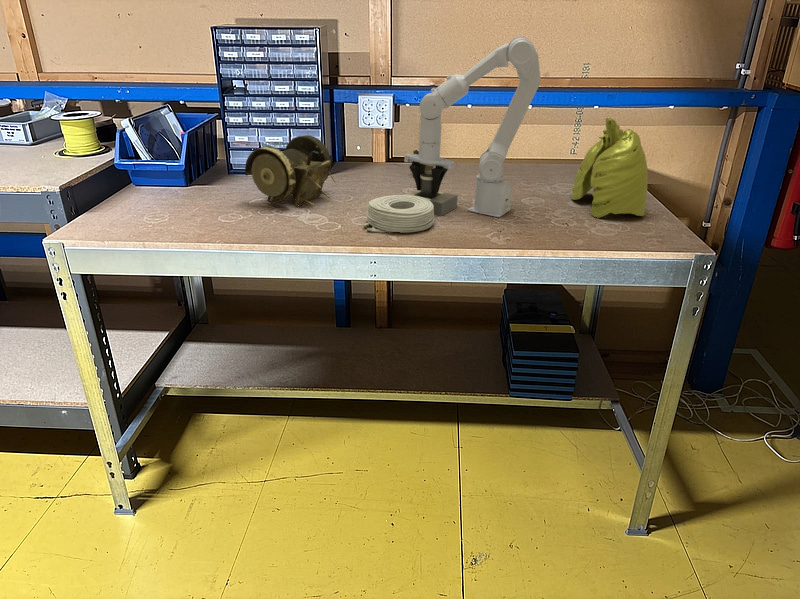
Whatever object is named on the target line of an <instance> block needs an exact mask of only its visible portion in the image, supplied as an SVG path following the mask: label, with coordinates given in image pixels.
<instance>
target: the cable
mask: <svg viewBox="0 0 800 599" xmlns="http://www.w3.org/2000/svg"><path fill="white" fill-rule="evenodd" d="M366 217H367V223H364V224H363V225H362V226H363V227H364V228H365V229H366V231H367V232H369V231H370V232H371V233H379V232H380V233H384V232H389V233H390V234H391V232H400V233H403V234H404V233H405V234H406V233H416V232H421V231H425V230H427V229H429V228H431V227H432V226H433V225H434V223H435V214H434V206H433V204H432V202H430V201H429V200H427V199H425V198H422V197H419V196H412V195H405V194H395V195H394V194H392V195H384V196H380V197H376V198H373V199H371V200H369V201H368V205H367V211H366ZM370 226H372V227H370Z"/></svg>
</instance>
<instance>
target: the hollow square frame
mask: <svg viewBox="0 0 800 599" xmlns="http://www.w3.org/2000/svg"><path fill="white" fill-rule="evenodd" d="M404 195H412V196H419V197H421V190H420V191H418V190H417V188H416V189H414V190H412V191H410V192H409V193H405V194H404ZM458 196H459V195H458V194H453V193H449V192H444V191H439V192H438V193H436V197H435V198H433V199H429V198H425V199H427V200H429V201H430V202H432V204H433V206H434V216H435V215H436V216H440V217H442V216H444V215H446V214H448V213H449V212H451V211H454V208H455V209H456V208H457V207H458ZM422 198H424V197H422Z"/></svg>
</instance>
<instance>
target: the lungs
mask: <svg viewBox="0 0 800 599" xmlns="http://www.w3.org/2000/svg"><path fill="white" fill-rule="evenodd" d="M605 128H606V129H603V131H602V133H603V135H602V136H599V137H598V139H601V140H599V141H597V142H596V143H595V144H594V145H592V147H591V148H589V150H588V151H587V152H586V154H585V156H584V157H583V160H582V162H580V166H579V168H578V170H577V171H576V172H577V173H576V175H575V179H574V181H573V186H572V187H571V191H572V194H571V199H572V200H573V201H577V200H580V199H582V198H583V197H584V196H585V195H586V194H587V193H588V192H590V191H591V189H592V188H593V190H592V193H591V195H592V197H593V200H592V203H591V206H592V207H591V209H590V213H591V215H592V216H593V217H594V218H596V217H597V219H599V218H604V217H606V216H607V215H609V214H613V215H617V214H618V215H620V214H624V215H625V214H631V215H635V216H638V217H639V216H640V217H645V216H644V215H645V213H646V204H647V197H648V179H649V178H648V177H649V176H648V173H649V172H648V171H649V170H648V163H647V157H646V154H645V151H644V150H645V149H643V145H642V142H641V138H640V135H639V134H638V133H636V131H634V130H633V129H630V128H629V129H625V130H624V129H621V128H620V125H619V124H617V121H616V120H615V119H614V118H612V117H608V118H605Z"/></svg>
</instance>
